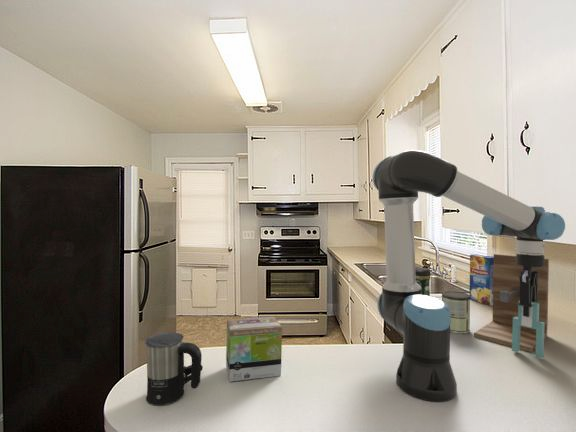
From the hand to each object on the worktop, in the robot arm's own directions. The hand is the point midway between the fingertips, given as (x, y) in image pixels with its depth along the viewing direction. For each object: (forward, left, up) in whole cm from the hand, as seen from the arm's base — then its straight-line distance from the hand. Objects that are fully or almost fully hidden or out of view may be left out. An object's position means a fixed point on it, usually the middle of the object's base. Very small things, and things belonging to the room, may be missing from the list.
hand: (528, 324), depth 109 cm
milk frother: (-96, +56, -11) cm, 111 cm away
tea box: (-75, +50, -11) cm, 91 cm away
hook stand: (+15, +9, -10) cm, 20 cm away
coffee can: (+7, +26, -11) cm, 29 cm away
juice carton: (+60, +33, -11) cm, 69 cm away
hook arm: (+15, +9, +4) cm, 18 cm away
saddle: (0, 0, -10) cm, 10 cm away
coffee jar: (+30, +53, -11) cm, 62 cm away
